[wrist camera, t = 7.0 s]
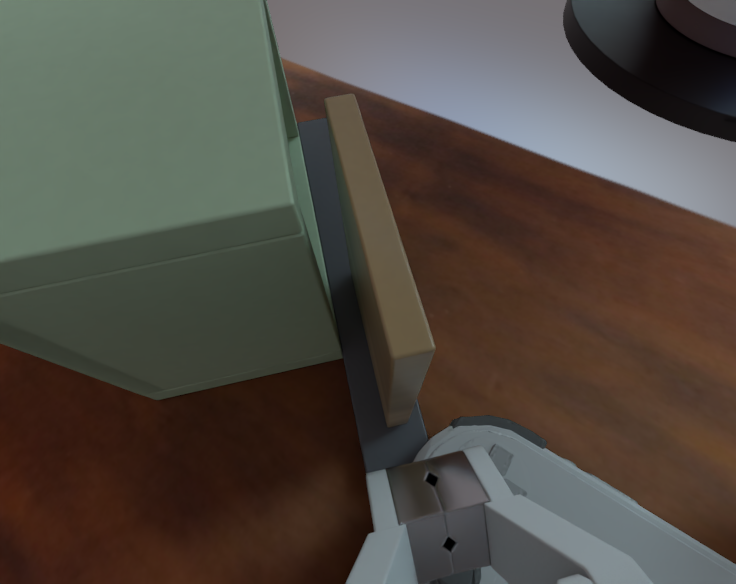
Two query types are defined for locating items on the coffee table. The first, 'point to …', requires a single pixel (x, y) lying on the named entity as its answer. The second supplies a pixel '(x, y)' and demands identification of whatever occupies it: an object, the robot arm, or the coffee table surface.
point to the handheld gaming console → (578, 504)
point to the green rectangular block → (173, 206)
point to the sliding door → (378, 266)
